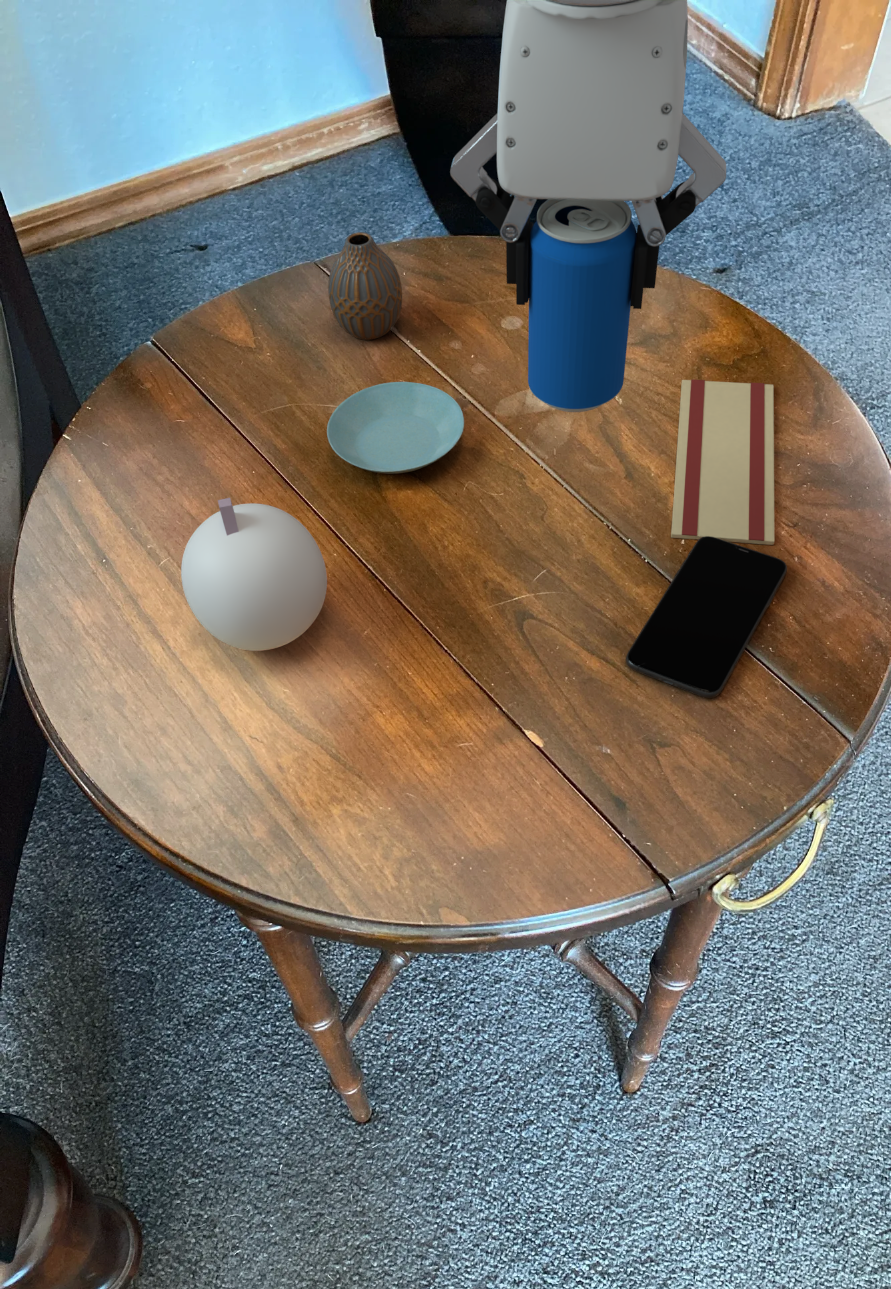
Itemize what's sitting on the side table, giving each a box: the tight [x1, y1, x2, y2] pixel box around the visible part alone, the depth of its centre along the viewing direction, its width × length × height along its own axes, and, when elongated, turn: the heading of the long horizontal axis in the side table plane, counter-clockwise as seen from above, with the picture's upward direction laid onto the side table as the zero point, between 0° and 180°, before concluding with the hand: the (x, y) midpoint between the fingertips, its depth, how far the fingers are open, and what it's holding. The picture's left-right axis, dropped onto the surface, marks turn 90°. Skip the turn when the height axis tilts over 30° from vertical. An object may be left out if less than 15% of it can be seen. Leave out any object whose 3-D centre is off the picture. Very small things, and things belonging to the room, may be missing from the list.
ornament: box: [180, 497, 328, 652], centre depth 78 cm, size 10×10×12 cm
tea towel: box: [670, 379, 775, 546], centre depth 91 cm, size 8×20×1 cm, turn 171°
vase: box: [327, 231, 403, 341], centre depth 100 cm, size 7×7×9 cm
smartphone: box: [625, 536, 788, 699], centre depth 80 cm, size 7×1×15 cm
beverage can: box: [527, 199, 637, 413], centre depth 69 cm, size 6×6×12 cm
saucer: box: [326, 381, 465, 475], centre depth 93 cm, size 12×12×2 cm
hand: (580, 292), depth 68 cm, fingers closed on beverage can, 6 cm apart
